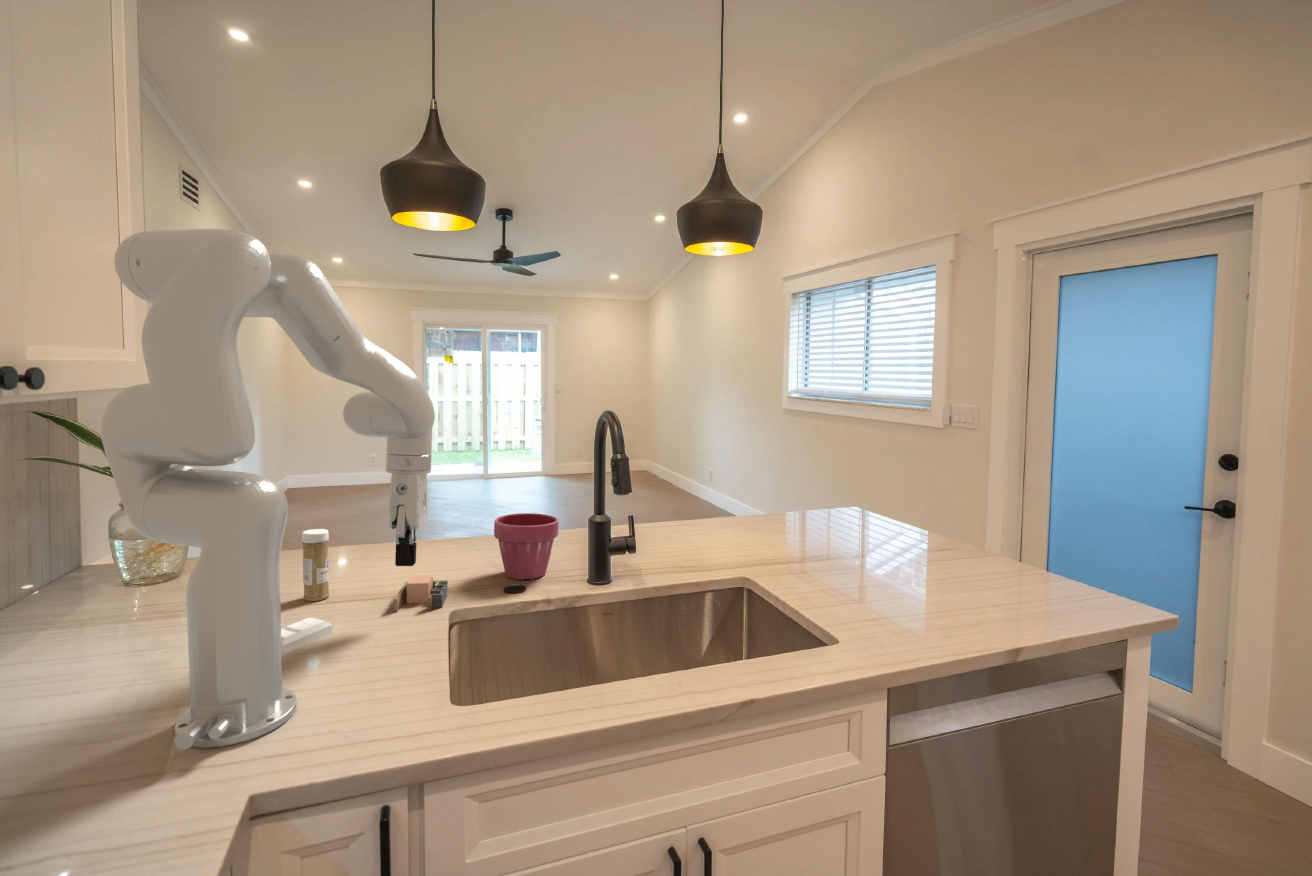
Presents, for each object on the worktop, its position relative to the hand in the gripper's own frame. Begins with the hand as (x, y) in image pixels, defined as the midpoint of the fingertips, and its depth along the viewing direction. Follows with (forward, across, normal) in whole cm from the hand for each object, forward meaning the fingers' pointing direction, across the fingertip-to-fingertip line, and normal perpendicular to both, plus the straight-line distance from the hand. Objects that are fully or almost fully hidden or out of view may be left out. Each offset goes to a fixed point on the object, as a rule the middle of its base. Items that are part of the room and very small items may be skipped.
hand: (405, 564), depth 109 cm
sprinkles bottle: (+10, +13, +19) cm, 25 cm away
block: (+10, +11, -1) cm, 15 cm away
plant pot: (+8, +25, -21) cm, 34 cm away
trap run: (+10, +9, -1) cm, 13 cm away
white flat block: (+11, -7, +15) cm, 20 cm away
